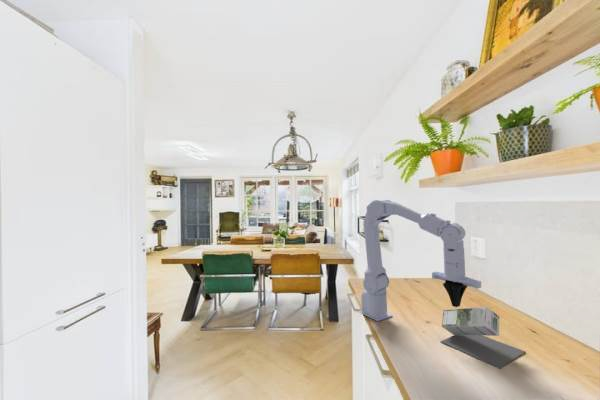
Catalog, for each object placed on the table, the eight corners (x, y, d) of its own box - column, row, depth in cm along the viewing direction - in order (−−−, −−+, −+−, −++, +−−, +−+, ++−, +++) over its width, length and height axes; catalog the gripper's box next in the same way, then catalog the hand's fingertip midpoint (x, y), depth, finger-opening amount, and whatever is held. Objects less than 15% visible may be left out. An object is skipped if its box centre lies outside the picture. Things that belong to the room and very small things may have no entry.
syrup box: (453, 335, 87) (501, 336, 76) (440, 326, 86) (486, 325, 75) (455, 318, 91) (501, 316, 79) (442, 309, 90) (487, 306, 78)
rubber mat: (440, 342, 83) (440, 341, 83) (466, 330, 90) (466, 329, 90) (499, 368, 69) (499, 367, 69) (525, 352, 76) (525, 351, 76)
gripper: (485, 264, 82) (488, 310, 82) (440, 257, 95) (442, 297, 94) (472, 268, 79) (474, 315, 78) (427, 260, 91) (429, 301, 91)
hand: (456, 305), depth 86 cm, fingers closed
